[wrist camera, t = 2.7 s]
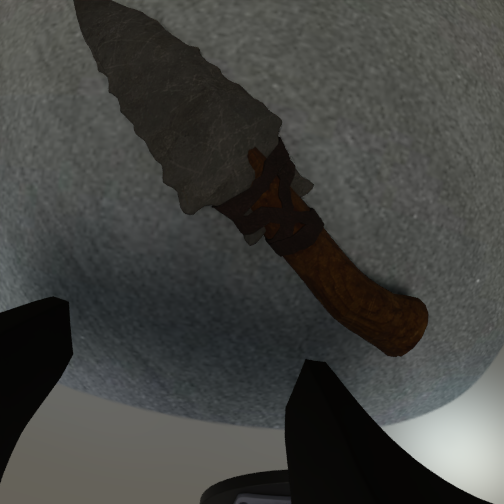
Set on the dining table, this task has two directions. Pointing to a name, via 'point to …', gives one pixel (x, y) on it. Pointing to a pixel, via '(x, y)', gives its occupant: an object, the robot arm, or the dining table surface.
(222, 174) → the knife
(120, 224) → the dining table surface
